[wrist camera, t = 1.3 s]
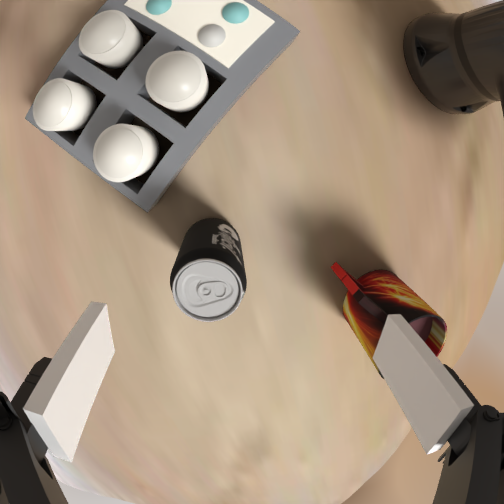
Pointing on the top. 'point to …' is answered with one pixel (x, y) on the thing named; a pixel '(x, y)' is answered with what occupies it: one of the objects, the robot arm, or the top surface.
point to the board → (163, 41)
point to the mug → (387, 309)
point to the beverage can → (209, 271)
